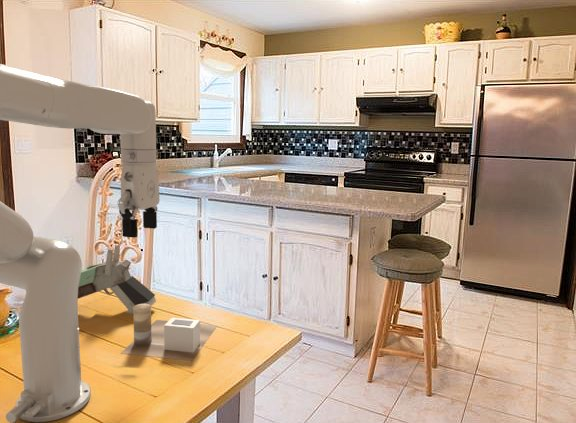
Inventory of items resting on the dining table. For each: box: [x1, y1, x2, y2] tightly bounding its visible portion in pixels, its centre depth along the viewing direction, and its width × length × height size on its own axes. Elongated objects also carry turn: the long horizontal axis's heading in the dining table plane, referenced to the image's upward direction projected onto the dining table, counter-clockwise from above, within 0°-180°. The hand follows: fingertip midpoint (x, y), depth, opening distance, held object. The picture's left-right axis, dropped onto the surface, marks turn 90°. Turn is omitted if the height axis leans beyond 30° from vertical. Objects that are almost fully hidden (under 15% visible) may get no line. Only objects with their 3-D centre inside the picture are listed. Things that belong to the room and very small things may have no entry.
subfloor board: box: [120, 319, 218, 362], centre depth 109 cm, size 19×17×1 cm
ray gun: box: [78, 244, 157, 315], centre depth 125 cm, size 7×32×20 cm, turn 87°
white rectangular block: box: [164, 317, 201, 352], centre depth 104 cm, size 4×7×6 cm, turn 82°
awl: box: [132, 304, 152, 346], centre depth 106 cm, size 4×4×9 cm
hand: (140, 232), depth 102 cm, fingers open, 9 cm apart
